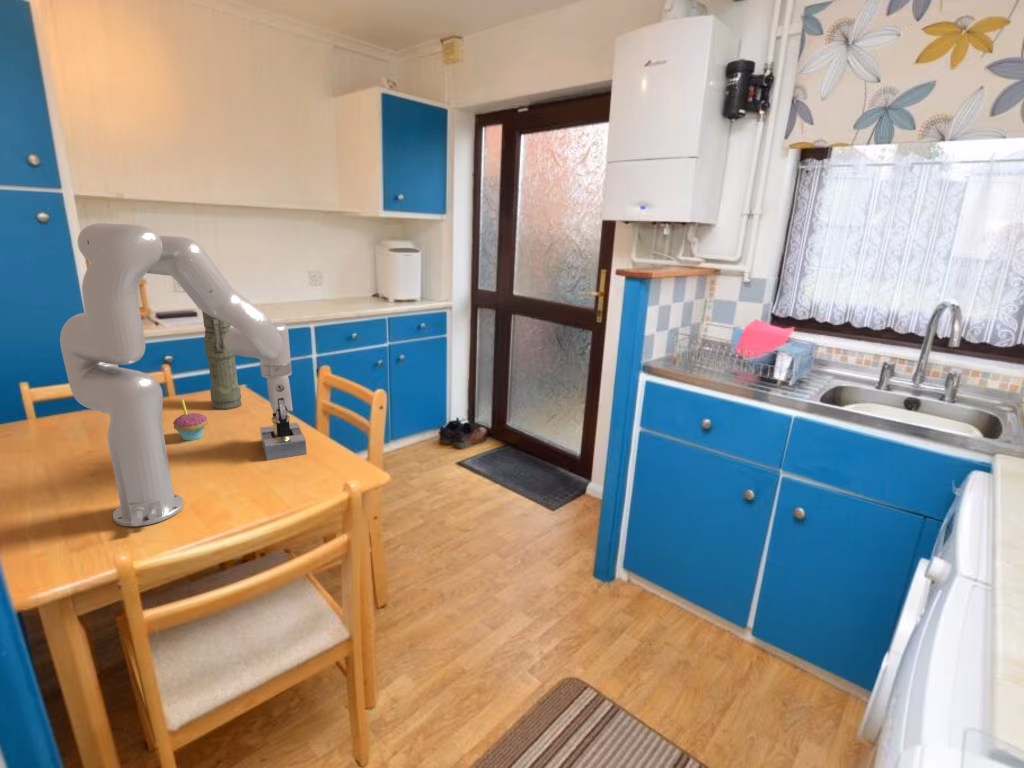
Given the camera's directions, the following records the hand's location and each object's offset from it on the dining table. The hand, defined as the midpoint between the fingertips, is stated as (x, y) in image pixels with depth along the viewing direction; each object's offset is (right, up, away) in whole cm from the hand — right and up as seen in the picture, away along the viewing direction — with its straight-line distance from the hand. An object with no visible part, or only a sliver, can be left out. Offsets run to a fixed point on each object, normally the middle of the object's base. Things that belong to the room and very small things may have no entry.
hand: (281, 430), depth 148 cm
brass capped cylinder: (0, -5, +1) cm, 5 cm away
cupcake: (-28, -3, +6) cm, 29 cm away
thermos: (-32, +5, +32) cm, 46 cm away
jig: (0, -5, +1) cm, 5 cm away
